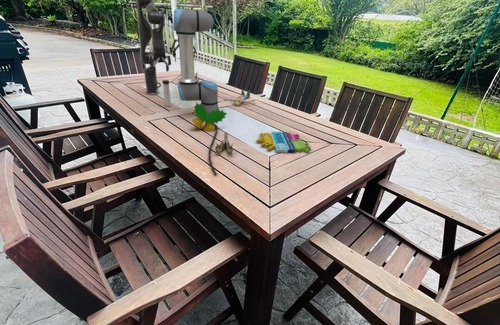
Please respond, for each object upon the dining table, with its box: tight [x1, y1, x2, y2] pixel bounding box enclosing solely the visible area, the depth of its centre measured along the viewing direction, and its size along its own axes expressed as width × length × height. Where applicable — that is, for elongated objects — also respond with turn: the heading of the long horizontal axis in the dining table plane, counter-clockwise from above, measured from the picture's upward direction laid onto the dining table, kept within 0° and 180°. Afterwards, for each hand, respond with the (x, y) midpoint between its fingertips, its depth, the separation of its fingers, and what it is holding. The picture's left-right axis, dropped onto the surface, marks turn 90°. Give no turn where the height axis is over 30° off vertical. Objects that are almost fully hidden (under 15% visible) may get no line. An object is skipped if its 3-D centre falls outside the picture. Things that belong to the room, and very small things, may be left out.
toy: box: [223, 89, 257, 106], centre depth 219 cm, size 28×7×30 cm
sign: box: [256, 131, 312, 154], centre depth 152 cm, size 26×2×30 cm
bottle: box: [162, 83, 172, 107], centre depth 195 cm, size 4×4×18 cm
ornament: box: [191, 101, 228, 132], centre depth 162 cm, size 21×8×15 cm, turn 105°
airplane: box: [177, 71, 204, 83], centre depth 255 cm, size 38×32×10 cm
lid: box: [161, 79, 170, 85], centre depth 191 cm, size 5×5×2 cm
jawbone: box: [214, 131, 234, 156], centre depth 136 cm, size 9×15×10 cm
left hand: (161, 71), depth 181 cm, fingers open, 8 cm apart
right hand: (184, 61), depth 211 cm, fingers open, 13 cm apart
